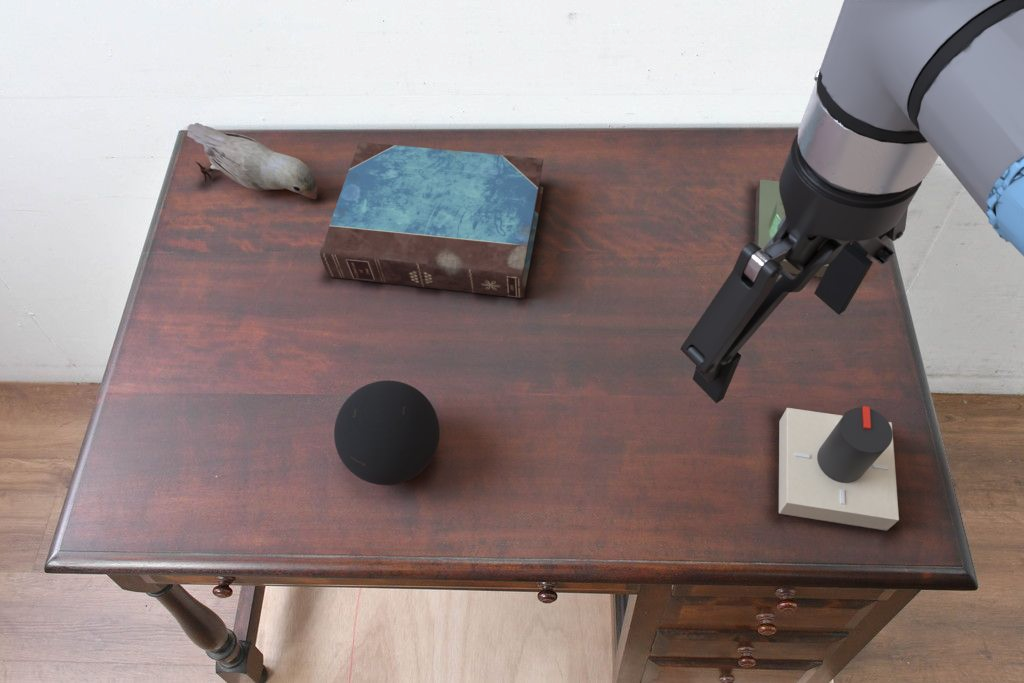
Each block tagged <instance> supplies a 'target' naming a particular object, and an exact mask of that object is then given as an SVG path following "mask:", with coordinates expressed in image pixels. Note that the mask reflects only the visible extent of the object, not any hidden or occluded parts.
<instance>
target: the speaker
mask: <svg viewBox="0 0 1024 683" xmlns="http://www.w3.org/2000/svg"><path fill="white" fill-rule="evenodd" d="M440 432H441V431H440V422H439V418H438V415H437V412H436V410H435V407H434V406H433V404H432V403H431V401H430V400H429V399H428V397H427V396H426V395H425V394H424V393H422V391H420V390H418V389H417V388H416V387H415V386H412V385H411V384H408V383H405V382H402V381H398V380H377V381H374V382H370V383H367V384H365V385H362V387H360V388H358V389H356V390H355V391H354V392H353V393H351V394H350V396H348V397H347V399H346V400H345V401H344V402H343V404H342V406H341V408H340V409H339V411H338V413H337V415H336V419H335V423H334V430H333V438H334V445H335V449H336V452H337V454H338V456H339V458H340V460H341V462H342V464H343V465H344V467H346V468H347V469H348V470H349V472H350V473H351V474H353V475H354V476H356V477H357V478H358V479H360V480H362V481H365V482H367V483H370V484H373V485H377V486H378V485H379V486H394V485H399V484H402V483H405V482H409V481H410V480H412V479H414V478H415V477H417V476H419V474H421V473H423V471H425V469H426V468H427V467H428V466H429V464H430V463H431V462H432V460H433V458H434V457H435V454H436V452H437V449H438V446H439V443H440V434H441V433H440Z"/></svg>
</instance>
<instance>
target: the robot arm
mask: <svg viewBox="0 0 1024 683" xmlns="http://www.w3.org/2000/svg"><path fill="white" fill-rule="evenodd" d="M813 79H814V81H815V84H814V86H813V89H812V92H811V93H810V97H809V100H808V102H807V105H806V108H805V110H804V113H803V116H802V119H801V121H800V124H799V127H798V129H797V133H796V135H795V137H794V139H793V140H792V142H791V146H790V149H789V151H788V154H787V156H786V160H785V162H784V165H783V168H782V170H781V174H780V176H779V180H778V181H779V191H780V196H781V200H782V203H783V207H784V211H785V215H786V216H785V217H784V219H783V220H782V221H781V222H780V223H779V225H778V230H777V232H776V234H775V235H774V237H773V238H772V239H771V240H770V241H769V243H768V244H767V245H766V246H765V247H764V249H762V248H760V247H759V246H758V245H757V244H756V243H755V242H754V241H751V242H749V243H747V244H746V245H745V246H744V247H743V248H742V249H741V251H740V252H739V254H738V257H737V260H736V262H735V263H734V266H733V268H732V271H731V272H730V274H729V275H728V277H727V278H726V279H725V281H724V283H723V284H722V285H721V287H720V288H719V290H718V292H716V295H715V296H714V297H713V298H712V300H711V302H710V303H709V305H708V306H707V308H706V309H705V311H704V312H703V314H702V315H701V317H700V318H699V320H698V321H697V322H696V324H695V326H694V327H693V328H692V330H691V331H690V333H689V335H688V336H687V338H686V339H685V340H684V342H683V343H682V345H681V347H680V351H681V352H682V353H683V354H684V355H685V356H686V357H687V358H688V359H689V360H690V361H691V362H692V363H693V364H694V365H695V370H694V373H693V376H692V380H693V382H694V383H696V385H697V386H699V388H700V389H701V390H702V391H703V392H704V393H705V394H706V395H707V396H708V397H709V398H710V399H711V400H712V401H713V402H714V403H715V404H719V402H721V401H722V400H724V399H725V396H726V395H727V394H726V393H727V391H728V389H729V387H730V384H731V382H732V379H733V377H734V374H735V372H736V370H737V368H738V365H739V363H740V360H741V358H742V354H740V353H739V351H741V349H742V348H743V346H745V345H746V343H747V342H748V341H749V340H750V338H752V336H753V335H754V334H755V333H756V332H757V331H758V329H759V328H760V327H761V326H762V325H763V324H764V323H765V321H766V320H768V318H769V317H770V316H771V314H773V312H774V311H775V310H776V309H777V308H778V306H780V304H781V303H782V302H783V300H784V299H785V298H786V297H787V296H788V295H789V294H790V293H800V292H801V291H802V290H804V288H805V287H806V286H807V285H808V284H809V282H810V281H811V280H812V279H813V278H814V275H815V274H816V273H817V272H818V271H819V270H820V269H821V267H822V266H824V265H827V264H829V265H828V267H827V269H826V271H825V273H824V275H823V277H821V279H820V281H819V283H818V285H817V287H816V289H815V290H814V293H813V294H814V295H815V296H816V297H817V298H819V299H820V301H822V302H823V303H824V304H825V305H826V306H828V307H829V308H830V309H831V310H832V311H834V312H835V313H836V314H837V315H839V316H840V315H841V314H843V313H844V312H845V311H846V310H847V308H848V307H849V304H851V301H852V300H853V297H854V296H855V294H856V293H857V291H858V289H859V287H860V285H861V284H862V282H863V281H864V280H865V278H866V275H867V274H868V272H869V270H870V269H871V267H872V265H873V264H874V262H873V261H872V258H873V259H874V260H875V261H877V262H878V263H879V264H880V265H884V264H886V263H887V262H888V261H889V260H891V258H892V257H893V255H894V253H895V252H894V251H893V250H892V249H890V248H889V247H888V246H887V245H886V244H885V243H884V242H886V241H887V240H888V239H890V240H891V241H892V242H895V241H897V240H899V239H900V238H901V237H903V235H904V232H905V231H906V225H907V219H908V218H907V217H908V211H909V210H908V209H909V207H910V204H911V202H912V201H913V199H914V197H915V196H916V194H917V192H918V191H919V190H920V189H919V188H920V187H921V185H922V183H923V180H925V179H926V177H927V176H928V175H929V173H930V171H931V170H932V168H933V167H934V166H935V163H936V161H937V160H938V158H940V159H941V161H943V163H944V164H945V166H947V168H948V169H949V170H950V172H951V173H952V174H953V175H954V177H955V178H956V179H957V180H958V182H959V184H961V186H962V187H963V188H964V189H965V191H966V192H967V193H968V194H969V195H970V197H971V198H972V199H973V201H974V202H975V203H976V205H977V206H978V207H979V208H980V209H981V211H982V212H983V213H984V214H985V216H986V217H987V218H988V224H990V225H991V226H992V229H993V230H994V232H996V233H997V234H998V236H999V238H1001V239H1003V240H1004V241H1005V243H1010V244H1011V245H1012V246H1013V247H1014V248H1015V249H1016V250H1017V252H1019V253H1020V254H1021V255H1022V256H1023V257H1024V0H843V2H842V5H841V8H840V11H839V13H838V17H837V19H836V22H835V25H834V28H833V31H832V33H831V37H830V39H829V42H828V44H827V48H826V50H825V53H824V57H823V59H822V62H821V65H820V68H819V69H818V70H816V72H815V74H814V78H813ZM850 242H852V243H850ZM784 259H785V260H787V261H788V262H789V263H790V264H791V265H792V266H793V267H795V268H796V269H797V270H800V271H801V272H800V273H799V274H797V275H796V277H795V276H793V274H790V273H788V272H787V271H786V270H785V269H784V268H783V267H782V266H781V265H780V263H781V262H782V261H783V260H784Z"/></svg>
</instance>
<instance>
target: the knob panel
mask: <svg viewBox="0 0 1024 683" xmlns="http://www.w3.org/2000/svg"><path fill="white" fill-rule="evenodd" d="M842 417H843V415H842V414H834V413H827V412H820V411H813V410H808V409H807V410H805V409H800V408H799V409H798V408H791V407H786V409H785V411H784V413H783V414H782V416H781V418H780V419H779V425H778V426H779V427H778V429H779V430H778V432H779V434H778V436H779V437H778V438H779V439H778V514H779V515H784V516H785V515H787V516H793V517H798V518H805V519H811V520H816V521H817V520H818V521H824V522H830V523H836V524H841V525H849V526H855V527H862V528H867V529H873V530H881V531H888V530H890V528H892V527H893V526H894V525H896V523H897V522H899V521H900V516H899V502H898V487H897V486H898V485H897V474H896V460H895V447H894V434H893V431H892V434H893V436H892V441H891V443H890V445H889V446H888V447H887V449H886V450H885V451H884V452H883V453H882V454H881V455H880V456H879V457H878V459H877V460H876V461H875V462H874V463H873V464H872V465H871V466H870V467H869V469H868V470H867V471H866V472H865V473H864V474H863V475H862V476H861V477H860V478H859V479H858V480H856V481H854V482H850V483H841V482H837V481H835V480H832V479H831V478H829V477H828V476H827V475H825V474H824V472H823V471H822V470H821V468H820V466H819V464H818V460H817V455H818V451H819V449H820V447H821V446H822V444H823V443H824V442H825V440H826V439H827V437H828V436H829V435H830V433H831V432H832V431H833V429H834V428H835V426H836V425H837V424H838V422H839V421H840V420H841V418H842ZM888 422H889V424H890V426H891V429H892V430H893V422H891V421H888Z"/></svg>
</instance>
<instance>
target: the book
mask: <svg viewBox="0 0 1024 683" xmlns="http://www.w3.org/2000/svg"><path fill="white" fill-rule="evenodd" d="M543 166H544V158H537V157H530V156H529V157H528V156H527V157H526V156H517V155H507V154H506V155H505V154H495V153H485V152H475V151H474V152H473V151H462V150H453V149H441V148H432V147H431V148H429V147H421V146H420V147H419V146H418V147H417V146H410V145H409V146H408V145H399V144H398V145H396V144H389V143H388V144H386V143H377V142H376V143H375V142H364V141H359V142H358V143H357V145H356V149H355V152H354V153H353V158H352V160H351V163H350V165H349V168H348V172H347V174H346V177H345V180H344V182H343V185H342V188H341V191H340V194H339V196H338V199H337V201H336V205H335V208H334V211H333V214H332V217H331V220H330V222H329V225H328V228H327V231H326V235H325V238H324V241H323V246H322V247H321V249H320V251H319V256H320V259H321V261H322V265H323V267H324V269H325V271H326V274H327V276H328V277H330V278H336V279H337V278H338V279H344V280H345V279H347V280H355V281H364V282H373V283H381V284H392V285H399V286H409V287H419V288H427V289H436V290H444V291H453V292H462V293H472V294H480V295H489V296H498V297H507V298H514V299H515V298H516V299H524V298H525V292H526V288H527V287H526V286H527V281H528V276H529V272H530V271H529V270H530V265H531V259H532V255H533V249H534V242H535V238H536V232H537V226H538V221H539V216H540V210H541V206H542V200H543V193H544V187H543V186H540V181H541V177H542V172H543Z"/></svg>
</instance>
